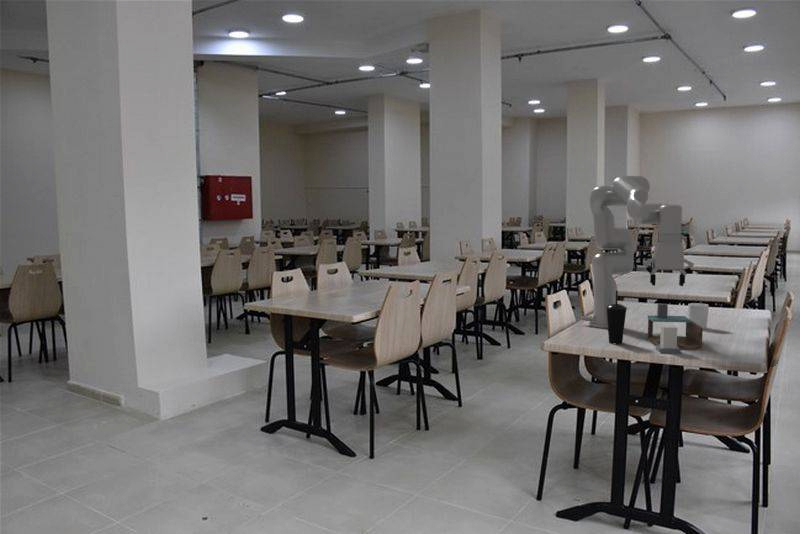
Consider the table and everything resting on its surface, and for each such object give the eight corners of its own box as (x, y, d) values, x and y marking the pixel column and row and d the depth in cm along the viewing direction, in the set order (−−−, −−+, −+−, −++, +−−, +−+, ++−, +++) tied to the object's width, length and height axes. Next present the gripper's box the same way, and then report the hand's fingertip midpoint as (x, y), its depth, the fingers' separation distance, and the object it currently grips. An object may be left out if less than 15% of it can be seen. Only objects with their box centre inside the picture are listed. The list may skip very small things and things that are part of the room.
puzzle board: (658, 348, 241) (658, 326, 240) (647, 338, 258) (648, 318, 258) (701, 349, 238) (702, 327, 238) (688, 339, 256) (688, 319, 255)
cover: (652, 321, 250) (652, 306, 250) (647, 317, 259) (648, 302, 258) (690, 322, 248) (691, 306, 248) (684, 318, 257) (685, 303, 256)
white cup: (710, 330, 275) (710, 306, 274) (689, 329, 277) (690, 305, 276) (705, 326, 283) (706, 303, 282) (685, 326, 285) (686, 302, 284)
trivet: (659, 352, 234) (659, 348, 234) (655, 349, 240) (656, 345, 240) (680, 353, 233) (680, 349, 233) (676, 349, 239) (676, 345, 239)
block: (663, 348, 234) (663, 327, 234) (660, 345, 239) (660, 325, 238) (676, 348, 234) (677, 327, 233) (673, 345, 238) (673, 325, 237)
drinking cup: (609, 339, 257) (610, 288, 255) (629, 342, 252) (630, 290, 250) (601, 343, 251) (602, 290, 249) (621, 345, 246) (623, 292, 244)
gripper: (692, 238, 243) (689, 284, 245) (642, 237, 245) (640, 283, 247) (697, 239, 235) (694, 287, 237) (646, 239, 238) (644, 286, 240)
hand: (667, 285), depth 242 cm, fingers open, 9 cm apart
